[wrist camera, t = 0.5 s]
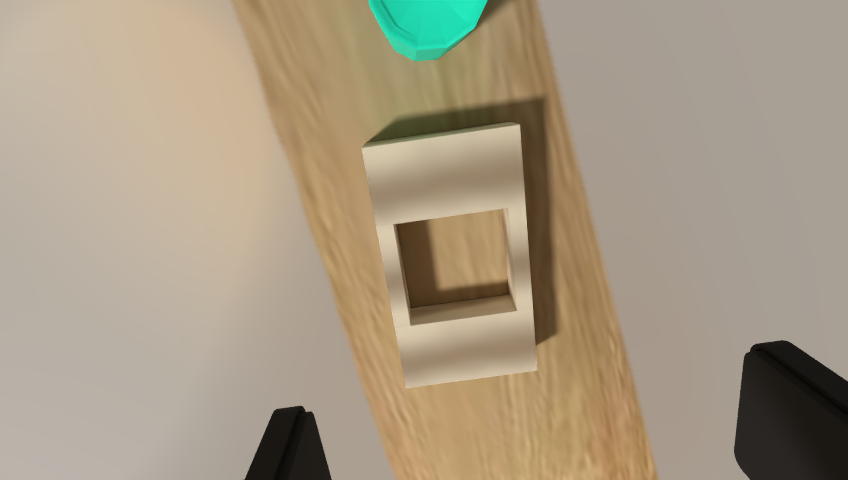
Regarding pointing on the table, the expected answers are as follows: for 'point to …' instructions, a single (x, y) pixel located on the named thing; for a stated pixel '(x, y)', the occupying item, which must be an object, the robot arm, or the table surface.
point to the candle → (426, 24)
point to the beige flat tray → (447, 196)
